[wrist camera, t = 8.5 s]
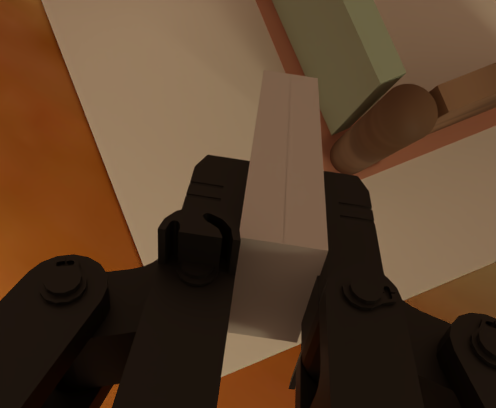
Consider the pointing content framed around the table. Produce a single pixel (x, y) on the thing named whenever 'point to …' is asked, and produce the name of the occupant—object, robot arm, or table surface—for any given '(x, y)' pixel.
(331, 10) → the fence gate
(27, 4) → the table surface
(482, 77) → the fence fixed
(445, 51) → the card
